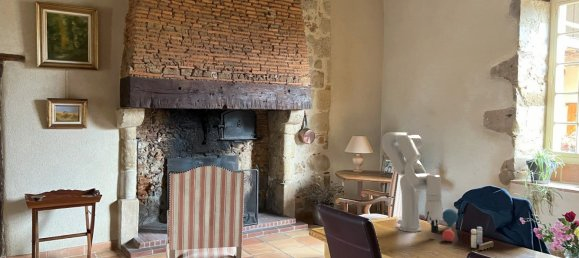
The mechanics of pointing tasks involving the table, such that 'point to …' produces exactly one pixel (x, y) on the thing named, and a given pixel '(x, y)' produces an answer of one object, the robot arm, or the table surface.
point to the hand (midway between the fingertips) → (434, 232)
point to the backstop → (486, 245)
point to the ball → (448, 235)
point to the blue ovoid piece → (450, 217)
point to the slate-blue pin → (479, 235)
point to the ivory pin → (473, 238)
